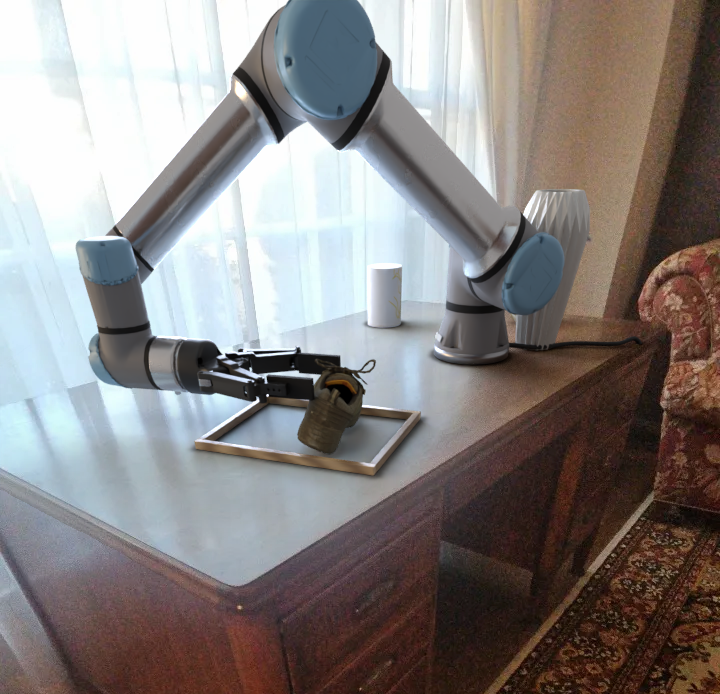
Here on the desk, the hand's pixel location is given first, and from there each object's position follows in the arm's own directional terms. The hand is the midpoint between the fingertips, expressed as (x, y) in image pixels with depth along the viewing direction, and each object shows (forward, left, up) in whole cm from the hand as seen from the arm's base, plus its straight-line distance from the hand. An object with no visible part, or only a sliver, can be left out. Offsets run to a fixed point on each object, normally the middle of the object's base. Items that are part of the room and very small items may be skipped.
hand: (327, 377), depth 81 cm
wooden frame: (+3, -2, -9) cm, 9 cm away
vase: (-45, -46, -9) cm, 65 cm away
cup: (-15, -71, -9) cm, 74 cm away
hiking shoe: (+1, -2, -7) cm, 8 cm away
